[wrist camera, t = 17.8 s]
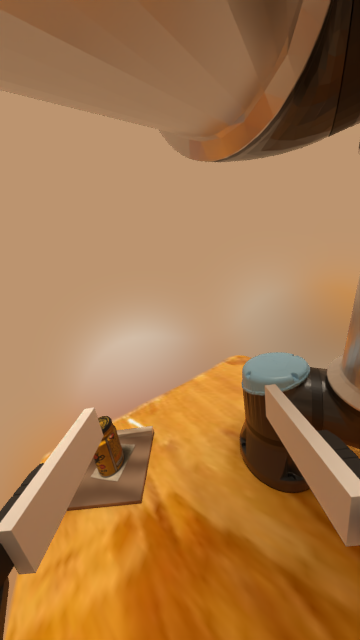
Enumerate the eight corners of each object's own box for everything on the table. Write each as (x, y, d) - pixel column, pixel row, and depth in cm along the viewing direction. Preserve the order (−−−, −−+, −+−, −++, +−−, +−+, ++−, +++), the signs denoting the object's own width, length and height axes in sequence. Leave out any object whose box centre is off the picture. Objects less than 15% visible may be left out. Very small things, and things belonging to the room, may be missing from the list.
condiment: (90, 477, 39) (74, 436, 37) (112, 443, 47) (100, 406, 45) (117, 482, 38) (103, 439, 35) (135, 445, 45) (125, 407, 43)
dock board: (141, 503, 34) (138, 494, 33) (55, 511, 35) (51, 503, 34) (154, 432, 49) (152, 426, 49) (94, 439, 50) (92, 433, 50)
